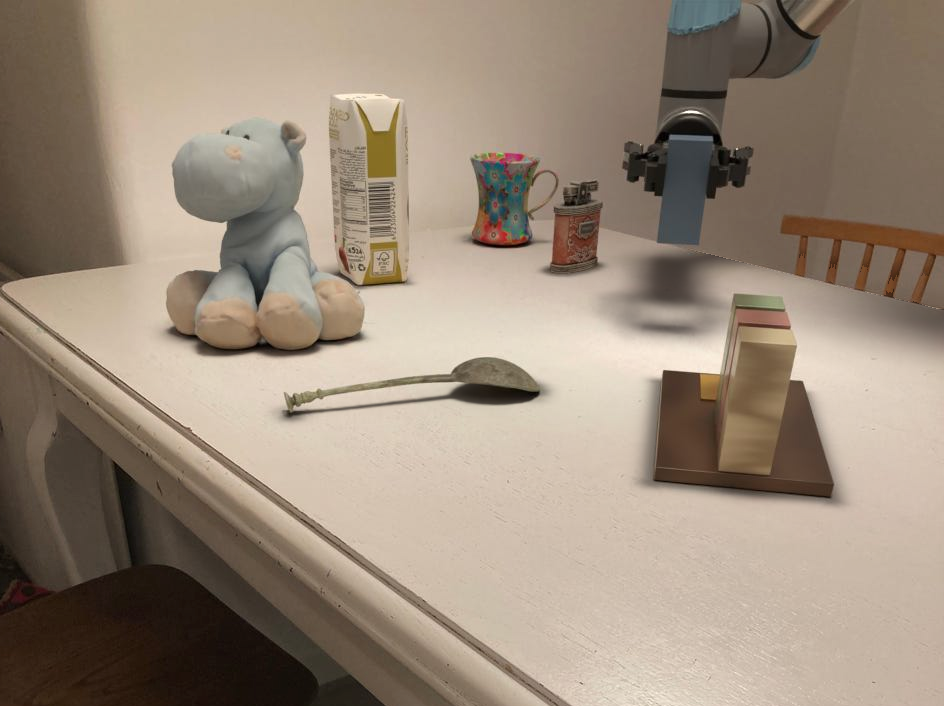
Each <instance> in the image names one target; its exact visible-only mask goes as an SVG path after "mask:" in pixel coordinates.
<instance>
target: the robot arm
mask: <svg viewBox="0 0 944 706" xmlns="http://www.w3.org/2000/svg"><path fill="white" fill-rule="evenodd" d="M857 1H858V0H762V1H760V2H757V3H753V2H752V3H749V2H742V0H671V4H670V11H669V18H668V22H667V23H666V30H667V34H666V42H665V43H666V44H665V53H664V60H663V61H664V62H663V70H662V71H663V72H662V80H661V90H660V96H659V97H660V98H659V103H658V112H657V113H658V114H657V122H656V129H655V137H654V141H653V143H652V144H649V145H648V147H647V148H646V150H644V144H643V143H637V142H634V141H632V140H628V141H626V142H624V145H623V154H622V155H623V156H622V165H621V168H622V170H624V171H626V181H627V182H629V183H632V184H633V183H636V182H639V181H640V178H643V182H644V185H643V192H647V193H653V197H662V195H663V188H664V179H665V171H666V163H667V152H668V144H669V137H670V135H691V136H712V137H713V148H712V155H711V161H710V167H709V174H708V182H707V189H706V197H705V200H706V199H707V200H708V199H709V200H715V199H716V194H717V189H722V188H725V187H728V185H729V182H731V186H732V187H735V188H736V189H741V188H743V187H745V186H746V179H747V176H749V175H750V174H751V170H752V163H753V156H754V151H755V148H754V147H751V146H750V145H749V146H745V147H734V148H733V152H732V149H730V148H727V147H726V146H724V144H723V138H722V129H723V121H724V115H725V108H726V101H727V97H728V89H729V82H730V80H733V79H770V80H771V79H772V80H776V79H782V78H784V77H787V76H792V75H795V74H798V73H800V72H801V71H803V70H804V69H806V68H807V67H808V65H810V63H811V62H812V61H813V59H814V57H815V56H816V52H817V50H818V49H819V46H820V43H821V36H822V35H823V34H824V32H826V30H827V29H829V28H830V27H831V26H832V25H833V24H834V23H835V22H836V21H837V20H839V18H840V17H841V16H842V15H844V13H845V12H846V11H848V9H850V8H851V6H853V4H855V3H856V2H857ZM731 153H733V154H731Z"/></svg>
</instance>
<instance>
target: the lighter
mask: <svg viewBox="0 0 944 706" xmlns="http://www.w3.org/2000/svg"><path fill="white" fill-rule="evenodd" d="M599 183H600V182H599V181H598V179H594V178H593V179H587V180H578V179H577V180H576V179H575V180H574V179H572V180H571V181H570V183H569V184H567V185H563V187H562V196H563V201H564V202H560V203H557V204H554V205H553V213H554V223H553V224H554V225H553V239H552V255H551V262H550V263H549V272H552V273H554V274H569V273H570V274H571V273H575V272H580V271H584V270H585V271H586V270H588V269H591V268H593V267H596V266H597V265H598V261H599V257H598V244H599V232H600V221H601V212H602V211H601V210H602V209H603V207H604V206H603V205H604V201H603V200H601V199H595V198H592V193H595V192H598V191H599V186H600V185H599Z"/></svg>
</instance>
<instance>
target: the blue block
mask: <svg viewBox="0 0 944 706" xmlns="http://www.w3.org/2000/svg"><path fill="white" fill-rule="evenodd" d="M712 148H713V137H712V136H691V135H670V137H669V144H668V152H667V163H666V171H665V179H664V188H663V195H662V196H661V204H660V212H659V221H658V229H657V239H656V244H663V245H664V244H665V245H681V246H683V245H685V246H700V241H701V240H700V238H701V232H702V225H703V217H704V210H705V204H706V189H707V182H708V174H709V167H710V161H711V155H712Z"/></svg>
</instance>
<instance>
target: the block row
mask: <svg viewBox="0 0 944 706" xmlns="http://www.w3.org/2000/svg"><path fill="white" fill-rule="evenodd" d="M786 310H787V309H786V306H785V303H784V300H783V297H782V296H778V295H763V294H751V293H750V294H749V293H734V294H733V295H732V301H731V307H730V314H729V320H728V326H727V331H726V336H725V342H724V348H723V349H724V350H723V355H722V360H721V367H720V373H708V372H696V371H695V372H694V371H682V370H671V369H663V370H662V373H661V381H660V396H659V408H658V419H657V420H658V422H657V432H656V433H657V435H656V445H655V446H656V447H655V458H654V470H653V471H654V472H653V480H654V481H662V482H671V483H672V482H673V483H684V484H691V485H692V484H693V485H703V486H712V487H713V486H714V487H724V488H732V489H733V488H734V489H744V490H745V489H746V490H757V491H765V492H777V493H788V494H797V495H806V496H807V495H808V496H816V497H817V496H818V497H819V496H820V497H828V498H831V497H832V495H833V492H834V487H835V482H834V480H833V479H834V478H833V476H832V471H831V469H830V466H829V462H828V459H827V456H826V452H825V450H824V445H823V443H822V442H823V441H822V438H821V435H820V433H819V430H818V426H817V421H816V420H815V415H814V413H813V409H812V406H811V403H810V399H809V396H808V393H807V390H806V387H805V383H804V380H798V379H797V380H796V379H791V376H792V372H793V369H794V368H793V367H794V362H795V358H796V354H797V349H798V344H797V340H796V338H795V334H794V332H793V331H794V330H793V329H792V325H791V321H790V318H789V315H788V312H787V311H786Z"/></svg>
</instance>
